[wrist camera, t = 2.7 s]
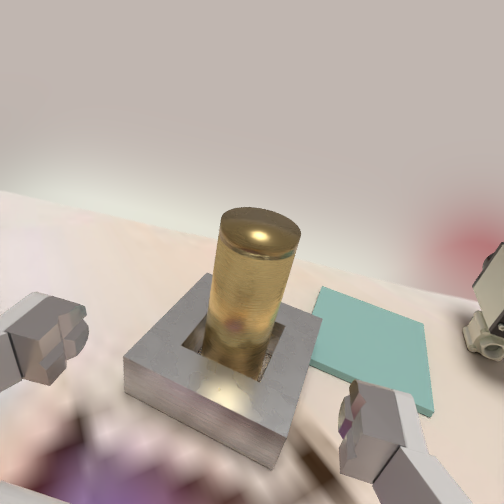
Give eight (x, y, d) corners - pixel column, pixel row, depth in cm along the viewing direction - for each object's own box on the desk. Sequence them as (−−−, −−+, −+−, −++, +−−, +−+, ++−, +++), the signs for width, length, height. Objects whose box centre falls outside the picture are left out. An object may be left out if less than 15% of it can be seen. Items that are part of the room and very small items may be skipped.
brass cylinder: (187, 377, 26) (206, 226, 19) (216, 336, 31) (240, 200, 23) (245, 406, 25) (288, 256, 18) (267, 359, 29) (308, 223, 22)
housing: (124, 392, 24) (123, 356, 22) (202, 303, 34) (206, 272, 32) (272, 470, 22) (286, 437, 19) (310, 348, 31) (322, 318, 29)
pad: (296, 359, 30) (298, 353, 30) (320, 291, 40) (322, 286, 40) (429, 417, 27) (434, 411, 27) (420, 328, 37) (423, 323, 37)
